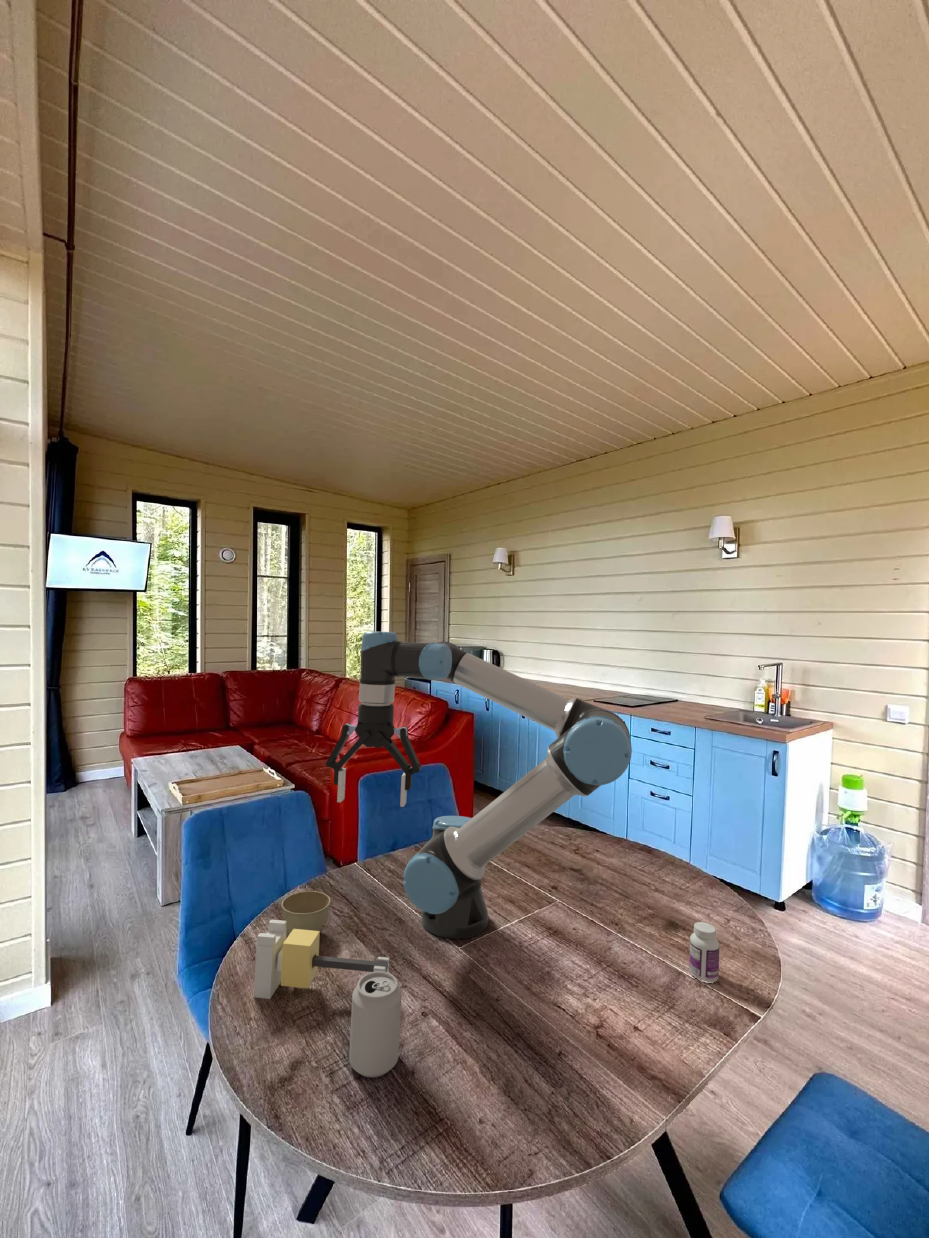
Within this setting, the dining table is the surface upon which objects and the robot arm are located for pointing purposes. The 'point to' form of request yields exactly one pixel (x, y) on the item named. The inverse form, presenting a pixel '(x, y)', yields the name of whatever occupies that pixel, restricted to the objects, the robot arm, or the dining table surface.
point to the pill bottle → (704, 952)
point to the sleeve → (299, 958)
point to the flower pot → (305, 910)
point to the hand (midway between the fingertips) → (371, 802)
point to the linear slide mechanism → (271, 961)
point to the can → (375, 1024)
